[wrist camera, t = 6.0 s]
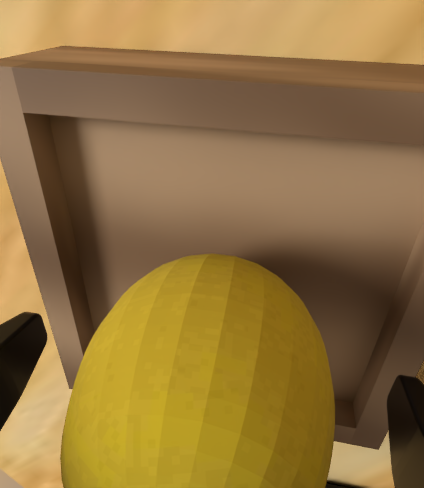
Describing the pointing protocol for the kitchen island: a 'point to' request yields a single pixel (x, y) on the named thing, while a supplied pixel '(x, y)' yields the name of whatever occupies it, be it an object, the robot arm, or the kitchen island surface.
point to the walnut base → (228, 193)
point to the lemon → (202, 385)
